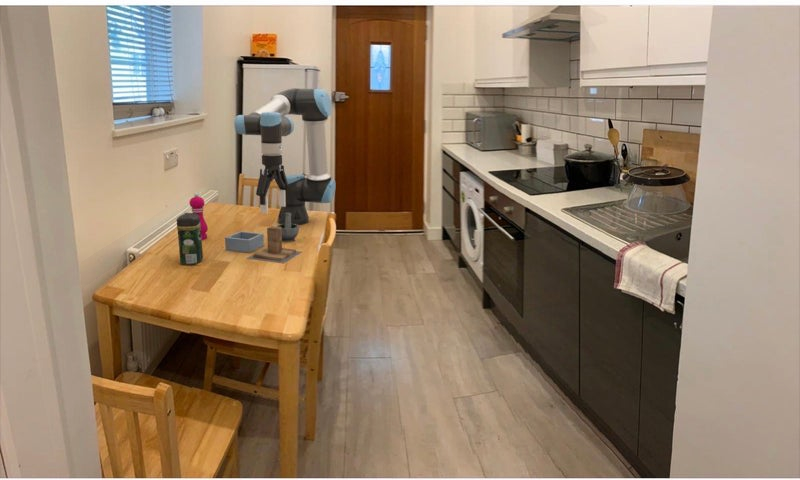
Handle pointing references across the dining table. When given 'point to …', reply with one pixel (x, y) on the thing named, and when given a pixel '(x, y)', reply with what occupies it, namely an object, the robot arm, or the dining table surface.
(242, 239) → the blue-grey square box
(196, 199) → the pepper mill
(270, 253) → the lid
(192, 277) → the dining table surface
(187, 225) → the coffee jar
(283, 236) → the mortar and pestle
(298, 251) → the mat
